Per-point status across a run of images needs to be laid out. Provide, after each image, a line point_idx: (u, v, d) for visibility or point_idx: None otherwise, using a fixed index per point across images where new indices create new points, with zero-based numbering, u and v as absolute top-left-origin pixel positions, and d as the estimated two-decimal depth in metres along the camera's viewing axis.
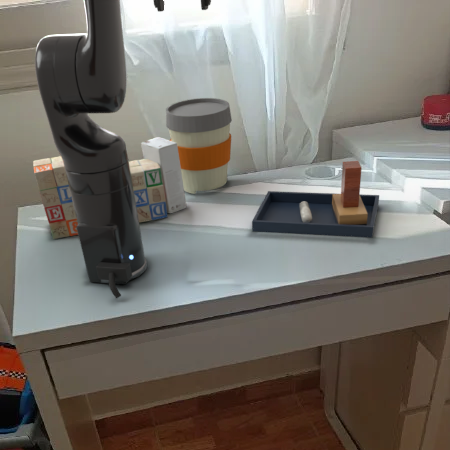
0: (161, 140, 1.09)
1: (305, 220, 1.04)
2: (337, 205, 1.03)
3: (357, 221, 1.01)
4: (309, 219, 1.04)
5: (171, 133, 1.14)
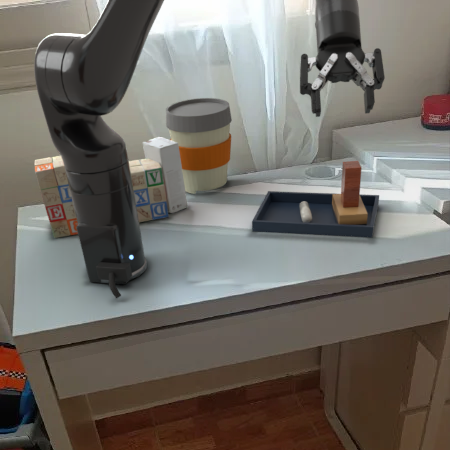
0: (162, 140, 1.09)
1: (305, 220, 1.04)
2: (337, 205, 1.03)
3: (357, 221, 1.01)
4: (309, 219, 1.04)
5: (171, 133, 1.14)
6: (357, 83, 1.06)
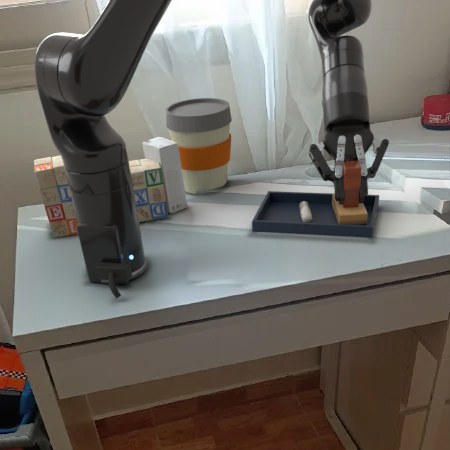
0: (162, 140, 1.09)
1: (305, 220, 1.04)
2: (337, 205, 1.03)
3: (357, 221, 1.01)
4: (309, 219, 1.04)
5: (171, 133, 1.14)
6: None
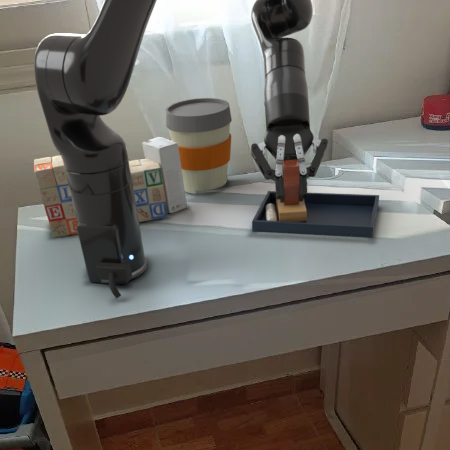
0: (162, 140, 1.09)
1: None
2: (279, 203, 1.05)
3: (297, 218, 1.03)
4: None
5: (171, 133, 1.14)
6: None
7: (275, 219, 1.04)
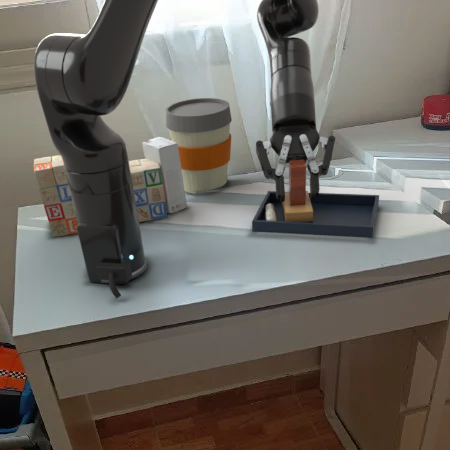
0: (162, 140, 1.09)
1: None
2: (285, 203, 1.05)
3: (303, 219, 1.03)
4: (273, 220, 1.04)
5: (171, 133, 1.14)
6: (306, 166, 1.05)
7: (274, 219, 1.04)
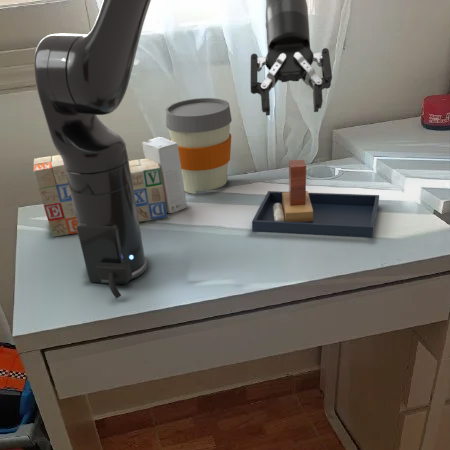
0: (162, 140, 1.09)
1: (278, 220, 1.04)
2: (285, 203, 1.05)
3: (303, 219, 1.03)
4: None
5: (171, 133, 1.14)
6: (306, 82, 1.08)
7: None
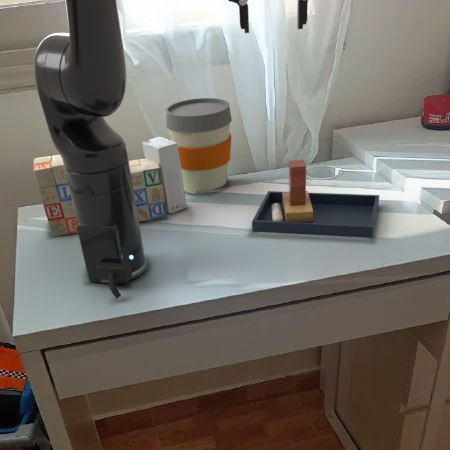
0: (162, 140, 1.09)
1: None
2: (285, 203, 1.05)
3: (303, 219, 1.03)
4: None
5: (171, 133, 1.14)
6: None
7: None
